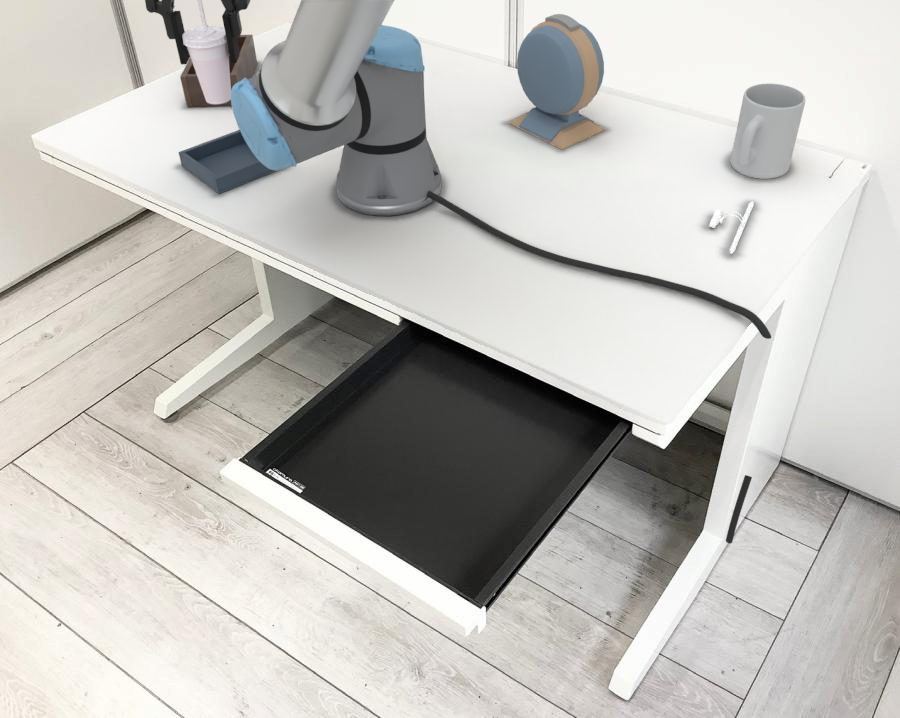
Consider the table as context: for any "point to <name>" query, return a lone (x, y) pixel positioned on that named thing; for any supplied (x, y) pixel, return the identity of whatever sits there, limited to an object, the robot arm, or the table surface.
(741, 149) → the mug
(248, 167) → the tray
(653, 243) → the table surface
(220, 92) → the smoothie
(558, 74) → the alarm clock
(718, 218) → the picture light
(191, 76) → the rack
